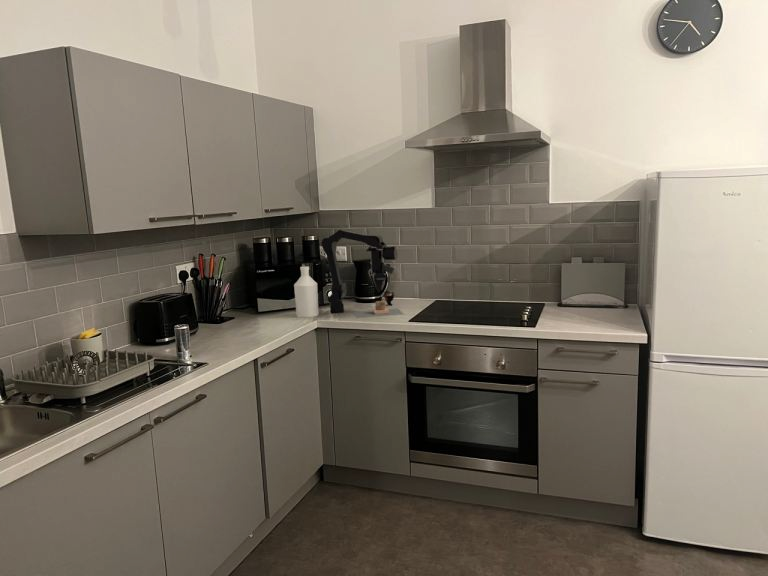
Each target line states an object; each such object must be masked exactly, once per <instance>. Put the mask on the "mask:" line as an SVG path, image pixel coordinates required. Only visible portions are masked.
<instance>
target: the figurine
mask: <svg viewBox="0 0 768 576" xmlns="http://www.w3.org/2000/svg"><path fill="white" fill-rule="evenodd" d="M383 293H384V294H383V297H384V301H385V303H386V307H388V306H390V305H391V306H392V307H393V303H392V302H393V300H394V298H395V293H394V291H393V290H385V291H384V292H383Z"/></svg>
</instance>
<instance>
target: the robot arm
mask: <svg viewBox="0 0 768 576" xmlns="http://www.w3.org/2000/svg"><path fill="white" fill-rule="evenodd" d="M342 239H347V240H350V241H351V240H352V241H356V242H361V243H363V244H366V245H367V246H368V248H367V249H366V252H370V262H369V264H370V269H369V270H368V275H369V278H370V280H371V283H372V285H373V287H374V289H375V290H377V292H378V293H381V290H382V285H383V282H384V281H385V280H386V279H387V274H386V273H389V274H391V275H393V274H394V269H395V267H393V266H391V264H390V263H386V264H385V263H384V261H383V259H384V260H385V261H389V260H390V261H396V260H398V251H397V248H396V246H387V245H386V243H385V241H384V240H383V239H384V238H383V237H382V236H381V235H380V234H365V233H360V232H354V231H350V230H346V229H343V228H341V229H338V230H337V231H336V232H335V233H333V234H331V235H329V236H328V237H323V238H322V240H321V242H320V243H321V247H322V249H323V252H324V253H325V254H326V255H325V256H326V258H327V262H328V267H329V273H330V277H331V278H330V279H331V294H330V295H329V296H328V297H327V302H328V303H329V313H330V314H331V315H332V314H343V313H344V312H345V308H344V302H343V300H344V297H345V296H346V295H347V291H348V288H347V283H346V282H343V281H342V279H341V273H340V268H339V264H338V257H337V254H336V253H337V247H338V246H337V243H338V242H340V241H341V240H342ZM385 272H386V273H385Z"/></svg>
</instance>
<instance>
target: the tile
mask: <svg viewBox="0 0 768 576" xmlns="http://www.w3.org/2000/svg"><path fill="white" fill-rule="evenodd" d="M388 309H389V308H387V307H385V310H378V311H377V310H376V308H372V310H373V313H374V314H387V313H388Z"/></svg>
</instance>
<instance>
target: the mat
mask: <svg viewBox="0 0 768 576" xmlns="http://www.w3.org/2000/svg"><path fill="white" fill-rule="evenodd" d="M387 309H388V313H387V314H374V313H373V309H371V310H359V311H358V310H357V311H352V313H353V315H354V316H355V318H356V319H360V318H361V319H362V318H372V317H373V318H374V317H384V316H397V315H398V316H399V315H404V312H403V311H401V309H399V308H387Z"/></svg>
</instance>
